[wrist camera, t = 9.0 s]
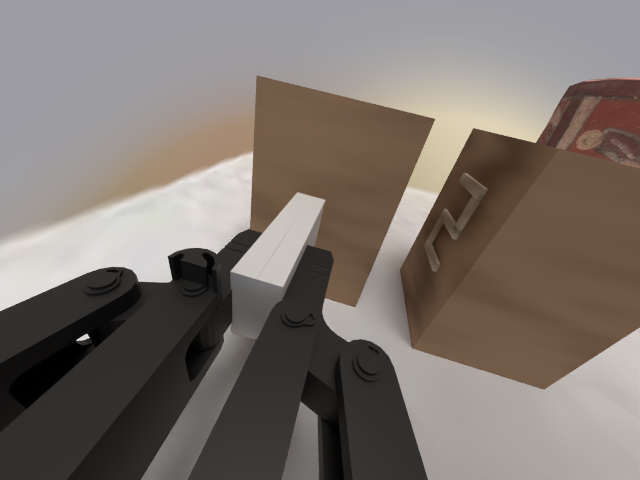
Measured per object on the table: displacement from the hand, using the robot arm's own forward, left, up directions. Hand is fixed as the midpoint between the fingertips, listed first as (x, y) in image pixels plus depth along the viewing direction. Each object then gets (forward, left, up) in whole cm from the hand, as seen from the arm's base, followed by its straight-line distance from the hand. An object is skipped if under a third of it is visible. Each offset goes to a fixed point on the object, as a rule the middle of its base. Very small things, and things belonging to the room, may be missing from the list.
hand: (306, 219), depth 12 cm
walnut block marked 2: (-12, +5, -6) cm, 14 cm away
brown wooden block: (-3, -4, -6) cm, 8 cm away
